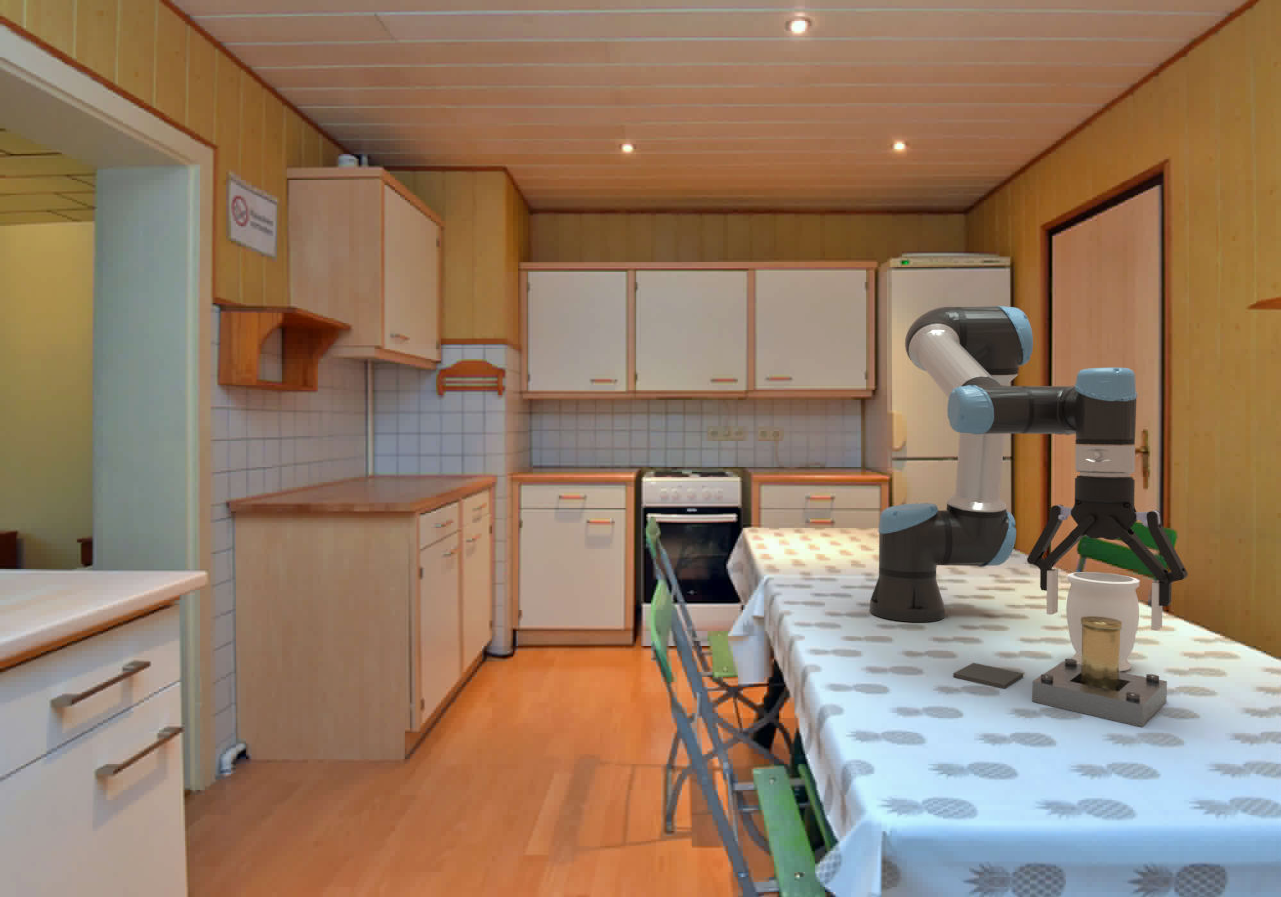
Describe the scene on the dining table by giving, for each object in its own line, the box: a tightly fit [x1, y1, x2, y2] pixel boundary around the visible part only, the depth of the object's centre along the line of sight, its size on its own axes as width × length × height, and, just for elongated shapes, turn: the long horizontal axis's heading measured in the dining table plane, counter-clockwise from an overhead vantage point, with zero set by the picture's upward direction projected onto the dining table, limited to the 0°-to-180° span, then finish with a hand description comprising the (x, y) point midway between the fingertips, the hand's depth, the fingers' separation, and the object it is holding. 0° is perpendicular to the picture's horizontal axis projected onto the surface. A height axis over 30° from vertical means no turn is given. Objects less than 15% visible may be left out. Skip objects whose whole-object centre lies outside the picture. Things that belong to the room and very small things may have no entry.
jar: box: [1065, 571, 1141, 672], centre depth 135 cm, size 11×10×15 cm
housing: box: [1031, 658, 1168, 728], centre depth 117 cm, size 14×14×4 cm
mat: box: [952, 662, 1024, 690], centre depth 129 cm, size 8×8×1 cm
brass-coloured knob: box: [1081, 616, 1122, 692], centre depth 117 cm, size 5×5×12 cm
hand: (1102, 620), depth 117 cm, fingers open, 13 cm apart
